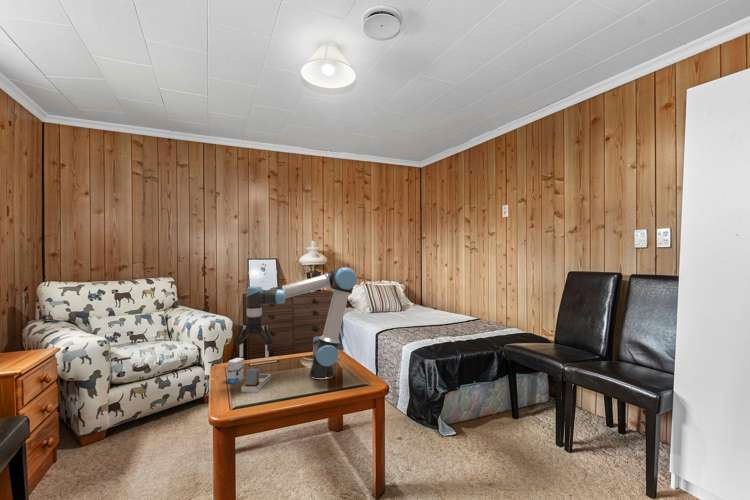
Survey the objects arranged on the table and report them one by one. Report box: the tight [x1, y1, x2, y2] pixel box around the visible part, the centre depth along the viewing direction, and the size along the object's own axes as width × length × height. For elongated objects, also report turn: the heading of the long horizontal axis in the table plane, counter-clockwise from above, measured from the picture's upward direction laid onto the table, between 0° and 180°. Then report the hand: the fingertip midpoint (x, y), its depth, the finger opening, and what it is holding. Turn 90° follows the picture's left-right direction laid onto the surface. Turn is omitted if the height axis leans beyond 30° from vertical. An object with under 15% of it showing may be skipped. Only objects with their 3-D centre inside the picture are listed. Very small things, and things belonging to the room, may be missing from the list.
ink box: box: [226, 357, 245, 385], centre depth 200 cm, size 8×5×12 cm, turn 168°
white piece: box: [240, 373, 272, 393], centre depth 194 cm, size 8×22×3 cm, turn 177°
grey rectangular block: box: [245, 367, 260, 386], centre depth 188 cm, size 5×5×10 cm
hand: (254, 357), depth 188 cm, fingers open, 13 cm apart
